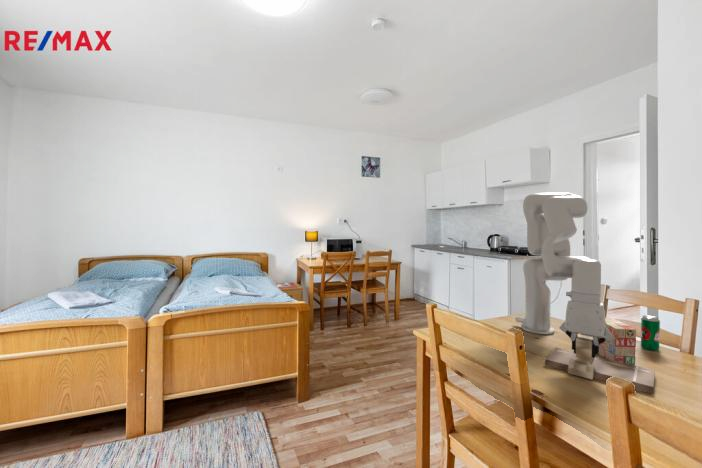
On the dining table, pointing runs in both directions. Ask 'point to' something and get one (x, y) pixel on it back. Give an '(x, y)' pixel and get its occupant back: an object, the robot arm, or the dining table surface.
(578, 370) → the beige block
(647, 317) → the soda can
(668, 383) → the dining table surface
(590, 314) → the robot arm
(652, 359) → the dining table surface
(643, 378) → the board
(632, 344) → the stack of blocks
